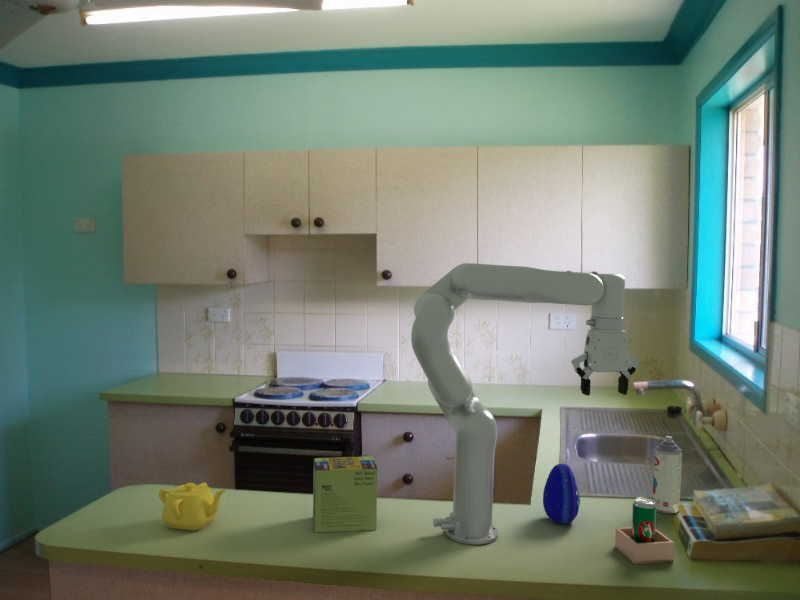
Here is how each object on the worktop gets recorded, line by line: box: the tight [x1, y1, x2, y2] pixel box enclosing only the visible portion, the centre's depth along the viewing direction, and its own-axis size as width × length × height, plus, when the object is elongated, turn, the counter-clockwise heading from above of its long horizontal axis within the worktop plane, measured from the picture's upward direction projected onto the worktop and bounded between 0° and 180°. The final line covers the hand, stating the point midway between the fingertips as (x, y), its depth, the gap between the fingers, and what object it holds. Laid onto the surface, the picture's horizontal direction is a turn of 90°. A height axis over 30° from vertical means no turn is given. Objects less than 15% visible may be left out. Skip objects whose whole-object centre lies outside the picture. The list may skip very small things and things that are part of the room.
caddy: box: [614, 526, 675, 565], centre depth 156 cm, size 9×9×4 cm
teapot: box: [158, 482, 227, 532], centre depth 168 cm, size 14×13×10 cm
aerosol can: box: [652, 435, 683, 515], centre depth 184 cm, size 7×7×20 cm
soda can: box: [631, 496, 657, 543], centre depth 156 cm, size 5×5×12 cm
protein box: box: [312, 456, 378, 534], centre depth 170 cm, size 10×15×16 cm
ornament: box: [542, 463, 581, 524], centre depth 175 cm, size 11×9×15 cm
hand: (604, 394), depth 167 cm, fingers open, 9 cm apart
